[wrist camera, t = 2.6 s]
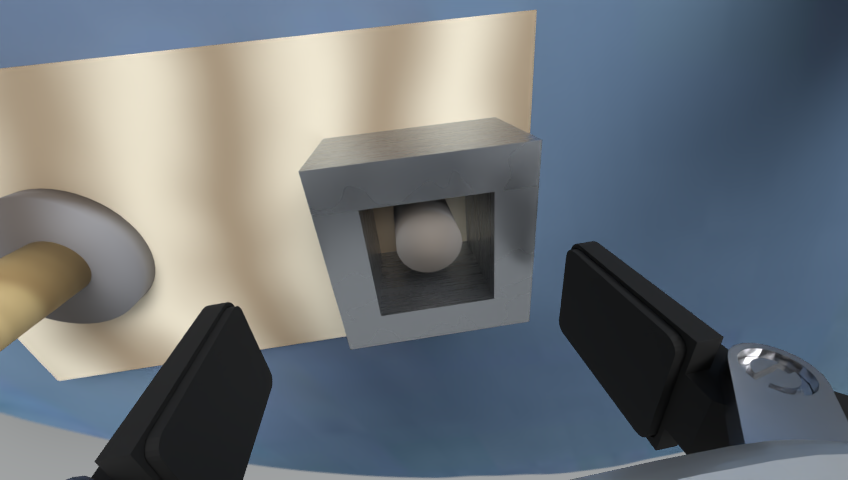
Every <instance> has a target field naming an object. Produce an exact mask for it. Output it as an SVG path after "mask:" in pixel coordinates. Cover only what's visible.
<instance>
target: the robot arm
mask: <svg viewBox="0 0 848 480" xmlns="http://www.w3.org/2000/svg"><path fill="white" fill-rule="evenodd" d="M559 324H560V328H561V330H562V332H563V334H564V335H565V336H566V338H567V339H568V340H569V342H570V343H571V345H572V346H573V347H574V349H575V350H576V351H577V353H578V354H579V355H580V357H581V358H582V359H583V361H584V362H585V363H586V365H587V366H588V368H589V369H590V370H591V372H592V373H593V374H594V376H595V377H596V378H597V380H598V381H599V382H600V384H601V385H602V387H603V388H604V389H605V391H606V392H607V393H608V395H609V396H610V397H611V399H612V400H613V401H614V403H615V404H616V405H617V407H618V408H619V410H620V411H621V412H622V414H623V415H624V416H625V418H626V419H627V420H628V422H629V423H630V424H631V426H632V427H633V429H634V430H635V431H636V432H637V433H638V434H639V435H640V436H642V437H646V438H647V439H648V441H649V442H650V443H651V445H652V446H653V447H654V449H655V450H660V449H665V448H669V447H674V446H677V445H679V446H680V447H681V448H682V450H683V451H684V452H685V453H686V455H683V456H678V457H673V458H668V459H663V460H658V461H654V462H649V463H644V464H640V465H635V466H631V467H626V468H621V469H617V470H612V471H608V472H603V473H599V474H594V475H590V476H585V477H581V478H576V479H572V480H848V396H847V395H844V394H841V393H838V392H834V391H833V389H832V387H831V385H830V384H829V382H828V381H827V379H826V378H825V377H824V375H823V374H821V373H820V372H819V371H818V370H817V369H816V368H814V367H813V366H812V365H810V364H809V363H807V362H806V361H804V360H802V359H801V358H799V357H797V356H795V355H793V354H790V353H788V352H786V351H784V350H781V349H778V348H775V347H771V346H768V345H763V344H757V343H741V344H737V345H734V346H732V347H731V348H730V349H729V350H728V349H727V348H725V347H724V346H723V345H721V342H722V340H723V336H721V335H720V334H719V333H717V332H716V331H715V330H713V329H712V328H711V327H709V326H708V325H707V324H705V323H704V322H703V321H701V320H700V319H699V318H697V317H696V316H695V315H693V314H692V313H691V312H689V311H688V310H687V309H685V308H684V307H683V306H681V305H680V304H679V303H677V302H676V301H675V300H673V299H672V298H671V297H669V296H668V295H667V294H665V293H664V292H663V291H661V290H660V289H659V288H657V287H656V286H655V285H653V284H652V283H651V282H649V281H648V280H647V279H645V278H644V277H643V276H641V275H640V274H639V273H637V272H636V271H635V270H633V269H632V268H631V267H629V266H628V265H627V264H625V263H624V262H623V261H621V260H620V259H619V258H617V257H616V256H615V255H613V254H612V253H611V252H609V251H608V250H607V249H605V248H604V247H603V246H601V245H600V244H599V243H597V242H595V241H592V242H586V243H580V244H575V245H573V247H572V249H571V250H569V251H568V252H567V255H566V264H565V273H564V281H563V290H562V299H561V308H560V317H559ZM271 388H272V375H271V372H270V370H269V368H268V366H267V363H266V361H265V359H264V357H263V355H262V353H261V350H260V348H259V346H258V344H257V342H256V339H255V337H254V335H253V333H252V331H251V329H250V326H249V324H248V322H247V320H246V318H245V316H244V313H243V311H242V309H241V308H240V307H239V306H234V305H233V304H232V303H230V302H226V303H220V304H214V305H208V306H205V307H204V308H203V309H202V311H201V312H200V314H199V315H198V316H197V318H196V319H195V321H194V322H193V323H192V325H191V326H190V328H189V329H188V331H187V332H186V333H185V335H184V336H183V338H182V339H181V340H180V342H179V343H178V345H177V346H176V347H175V349H174V350H173V352H172V353H171V355H170V356H169V357H168V359H167V360H166V362H165V363H164V364H163V366H162V367H161V369H160V370H159V371H158V373H157V374H156V376H155V377H154V379H153V380H152V381H151V383H150V384H149V386H148V387H147V388H146V390H145V391H144V393H143V394H142V395H141V397H140V398H139V400H138V401H137V403H136V404H135V405H134V407H133V408H132V410H131V411H130V412H129V414H128V415H127V417H126V418H125V419H124V421H123V422H122V424H121V425H120V427H119V428H118V429H117V431H116V432H115V434H114V435H113V436H112V438H111V439H110V441H109V442H108V443H107V445H106V446H105V448H104V449H103V451H102V452H101V453H100V455H99V456H98V458H97V459H96V460H95V462H96V464H98V466H99V467H98V469H97V470H96V472H95V473H94V475H93V476H92V477H91V478H90V477H87V476H80V477H72V478H70V479H67V480H243V477H244V474H245V471H246V468H247V465H248V461H249V458H250V455H251V452H252V449H253V446H254V442H255V439H256V436H257V433H258V430H259V426H260V423H261V420H262V417H263V414H264V410H265V407H266V404H267V401H268V398H269V394H270V391H271Z"/></svg>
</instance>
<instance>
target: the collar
mask: <svg viewBox="0 0 848 480" xmlns="http://www.w3.org/2000/svg"><path fill="white" fill-rule="evenodd" d="M541 148H542V140H541V139H539V138H537V137H535V136H533V135H531V134H529V133H527V132H525V131H523V130H521V129H519V128H517V127H515V126H513V125H511V124H509V123H507V122H504V121H502V120H500V119H498V118H496V117H492V118H484V119H476V120H468V121H460V122H452V123H444V124H436V125H428V126H420V127H412V128H404V129H396V130H388V131H380V132H372V133H364V134H357V135H349V136H341V137H333V138H325V139H323V140H322V141H321V142H320V144H319V145H318V146H317V148H316V149H315V150H314V152H313V153H312V154H311V156H310V157H309V158H308V160H307V161H306V162H305V163H304V165H303V166H302V167H301V169H300V170H299V171H298V172H299V175H300V179H301V182H302V186H303V189H304V192H305V196H306V199H307V203H308V206H309V210H310V213H311V216H312V220H313V223H314V227H315V230H316V233H317V237H318V240H319V244H320V247H321V251H322V254H323V257H324V261H325V264H326V268H327V271H328V274H329V278H330V281H331V285H332V288H333V292H334V295H335V298H336V302H337V305H338V309H339V312H340V315H341V319H342V322H343V326H344V329H345V333H346V336H347V339H348V343H349V346H350V350H352V349H358V348H364V347H371V346H377V345H383V344H390V343H396V342H402V341H409V340H415V339H421V338H428V337H434V336H440V335H447V334H453V333H459V332H466V331H472V330H478V329H485V328H491V327H497V326H504V325H510V324H516V323H523V322H529V316H530V302H531V288H532V274H533V260H534V246H535V232H536V218H537V204H538V190H539V176H540V162H541ZM460 196H465V210H466V233H467V241H463V242H462V246H461V250H460V253H459V255H458V256H457V258H456V259H455V260H454V261H453V262H452V263H451V264H450V265H449V266H447V267H445V268H443V269H441V270H438V271H435V272H419V271H415V270H413V269H411V268H409V267H408V266H406V265H405V264H404V263H403V262H402V261H401V259H400V258H399V256H398V253H397V251H394V252H387V253H381V249H380V244H379V239H378V233H377V228H376V223H375V218H374V213H373V208H380V207H387V206H395V205H402V204H409V203H417V202H424V201H431V200H439V199H446V198H453V197H460Z"/></svg>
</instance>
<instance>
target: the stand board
mask: <svg viewBox="0 0 848 480" xmlns="http://www.w3.org/2000/svg"><path fill="white" fill-rule="evenodd" d="M536 11H537V10H530V11H521V12H512V13H503V14H494V15H484V16H475V17H466V18H457V19H448V20H439V21H430V22H421V23H412V24H403V25H393V26H384V27H375V28H366V29H357V30H348V31H339V32H330V33H321V34H312V35H302V36H293V37H284V38H275V39H266V40H257V41H248V42H239V43H230V44H220V45H211V46H202V47H193V48H184V49H175V50H166V51H157V52H148V53H139V54H129V55H120V56H111V57H102V58H93V59H84V60H75V61H66V62H57V63H47V64H38V65H29V66H20V67H11V68H2V69H0V351H1V350H3V349H4V348H5V347H7V346H8V345H9V344H11V343H12V342H13V341H15V340H16V339H17V338H18V340H19V341H20V342H21V343H22V344H23V345H24V346H25V347H26V348H27V349H28V350H29V351H30V352H31V353H32V354H33V355H34V356H35V357H36V358H37V359H38V360H39V361H40V363H41V364H42V365H43V366H44V367H45V368H46V369H47V370H48V371H49V372H50V373H51V374H52V375H53V376H54V377H55V378H56V379H57V380H58V381H62V380H69V379H75V378H81V377H88V376H94V375H101V374H107V373H114V372H120V371H126V370H133V369H139V368H146V367H152V366H159V365H163V364H164V363H165V362H166V360H167V359H168V357H169V356H170V355H171V353H172V352H173V350H174V349H175V347H176V346H177V345H178V343H179V342H180V340H181V339H182V338H183V336H184V335H185V333H186V332H187V331H188V329H189V328H190V326H191V325H192V323H193V322H194V321H195V319H196V318H197V316H198V315H199V314H200V312H201V311H202V309H203V308H204V307H205V306H208V305H214V304H220V303H226V302H230V303H232V304H233V305H234V306H239V307H240V308H241V309H242V311H243V313H244V316H245V318H246V320H247V322H248V324H249V326H250V329H251V331H252V333H253V335H254V337H255V339H256V342H257V344H258V346H259V348H260V350H261V349H268V348H274V347H280V346H287V345H293V344H300V343H306V342H313V341H319V340H325V339H332V338H338V337H345V336H346V333H345V329H344V326H343V322H342V319H341V315H340V312H339V309H338V305H337V302H336V298H335V295H334V292H333V288H332V285H331V281H330V278H329V274H328V271H327V268H326V264H325V261H324V257H323V254H322V251H321V247H320V244H319V240H318V237H317V233H316V230H315V227H314V223H313V220H312V216H311V213H310V210H309V206H308V203H307V199H306V196H305V192H304V189H303V186H302V182H301V179H300V175H299V172H298V171H299V170H300V169H301V167H302V166H303V165H304V163H305V162H306V161H307V160H308V158H309V157H310V156H311V154H312V153H313V152H314V150H315V149H316V148H317V146H318V145H319V144H320V142H321V141H322V140H323V139H325V138H333V137H341V136H349V135H357V134H364V133H372V132H380V131H388V130H396V129H404V128H412V127H420V126H428V125H436V124H444V123H452V122H460V121H468V120H476V119H484V118H492V117H496V118H498V119H500V120H502V121H504V122H507V123H509V124H511V125H513V126H515V127H517V128H519V129H521V130H523V131H525V132H527V133H529V134H530V123H531V104H532V86H533V67H534V48H535V30H536ZM373 213H374V218H375V223H376V228H377V233H378V239H379V244H380V249H381V253H387V252H394V251H397V253H398V256H399V258H400V259H401V261H402V262H403V263H404V264H405V265H406V266H408V267H409V268H411V269H413V270H415V271H419V272H435V271H438V270H441V269H443V268H445V267H447V266H449V265H450V264H451V263H452V262H453V261H454V260H455V259H456V258H457V256H458V255H459V253H460V250H461V246H462V242H463V241H467V233H466V210H465V196H460V197H453V198H446V199H439V200H431V201H424V202H417V203H409V204H402V205H395V206H387V207H380V208H373Z"/></svg>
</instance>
